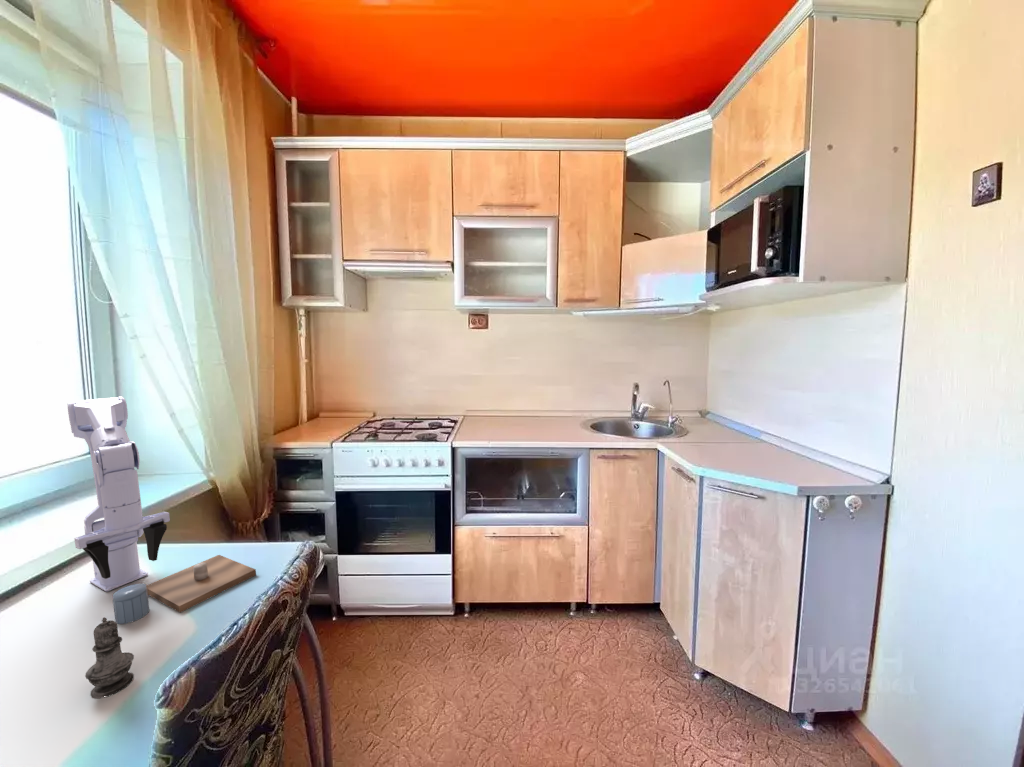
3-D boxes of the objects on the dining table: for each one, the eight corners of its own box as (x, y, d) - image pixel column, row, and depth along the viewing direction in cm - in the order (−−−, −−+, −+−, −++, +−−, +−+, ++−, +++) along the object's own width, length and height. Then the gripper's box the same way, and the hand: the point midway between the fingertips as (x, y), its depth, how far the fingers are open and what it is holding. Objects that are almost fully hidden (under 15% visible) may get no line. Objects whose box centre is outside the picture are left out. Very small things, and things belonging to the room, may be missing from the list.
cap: (111, 619, 88) (108, 594, 87) (142, 605, 93) (139, 581, 92) (122, 626, 86) (119, 600, 85) (153, 611, 90) (151, 587, 90)
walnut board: (144, 592, 97) (142, 574, 97) (219, 560, 111) (217, 543, 111) (180, 612, 90) (177, 592, 89) (256, 575, 104) (254, 557, 103)
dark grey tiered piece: (106, 702, 67) (97, 631, 66) (77, 697, 69) (68, 627, 67) (145, 673, 73) (137, 608, 72) (118, 669, 74) (110, 604, 73)
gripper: (81, 518, 78) (91, 590, 79) (173, 494, 91) (181, 555, 92) (66, 514, 82) (76, 582, 83) (157, 491, 95) (165, 550, 95)
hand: (130, 568), depth 88 cm, fingers open, 7 cm apart
